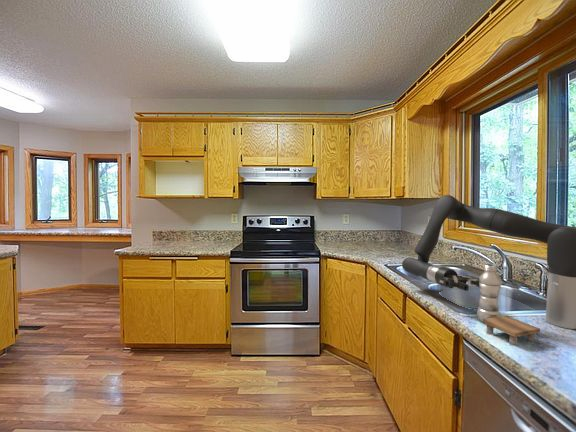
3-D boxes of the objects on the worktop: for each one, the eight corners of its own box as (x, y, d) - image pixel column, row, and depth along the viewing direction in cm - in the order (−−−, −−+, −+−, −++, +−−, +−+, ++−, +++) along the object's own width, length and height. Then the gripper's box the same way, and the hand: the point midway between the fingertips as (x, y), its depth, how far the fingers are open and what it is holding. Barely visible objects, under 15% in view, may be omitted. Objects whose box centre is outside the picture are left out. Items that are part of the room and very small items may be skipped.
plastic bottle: (493, 319, 103) (495, 263, 102) (503, 327, 96) (506, 267, 95) (473, 317, 104) (475, 262, 103) (482, 325, 98) (485, 267, 96)
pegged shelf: (505, 328, 96) (506, 315, 96) (539, 342, 86) (540, 328, 86) (482, 331, 93) (482, 319, 93) (514, 347, 84) (515, 332, 83)
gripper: (427, 267, 117) (461, 278, 102) (455, 265, 121) (492, 275, 106) (427, 286, 118) (461, 299, 102) (455, 283, 122) (491, 295, 106)
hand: (477, 287), depth 104 cm, fingers open, 8 cm apart
